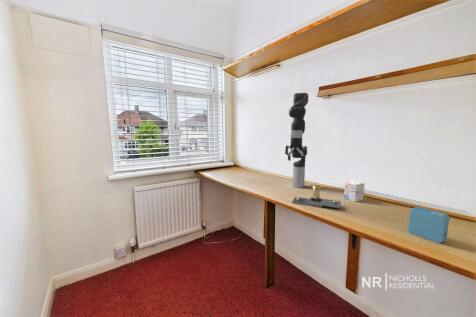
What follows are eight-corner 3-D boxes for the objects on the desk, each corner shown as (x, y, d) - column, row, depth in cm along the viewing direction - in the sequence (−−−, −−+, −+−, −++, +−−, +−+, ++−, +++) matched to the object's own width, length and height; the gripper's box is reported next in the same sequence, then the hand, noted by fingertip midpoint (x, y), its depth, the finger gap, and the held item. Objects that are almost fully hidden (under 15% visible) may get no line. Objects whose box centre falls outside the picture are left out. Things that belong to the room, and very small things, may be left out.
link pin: (312, 202, 135) (313, 184, 133) (320, 203, 132) (321, 185, 131) (310, 204, 130) (311, 186, 129) (319, 206, 128) (320, 187, 126)
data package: (446, 241, 87) (450, 214, 86) (442, 244, 85) (446, 217, 83) (411, 229, 98) (414, 205, 96) (407, 232, 96) (410, 207, 94)
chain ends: (292, 202, 134) (292, 196, 134) (295, 198, 142) (295, 193, 141) (340, 210, 121) (340, 203, 120) (340, 205, 128) (341, 199, 128)
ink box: (343, 198, 142) (344, 179, 141) (351, 196, 146) (353, 177, 144) (355, 202, 135) (356, 182, 133) (363, 200, 138) (365, 180, 136)
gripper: (308, 137, 137) (307, 161, 140) (287, 136, 144) (286, 159, 147) (306, 137, 131) (305, 162, 133) (284, 137, 138) (283, 161, 140)
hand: (295, 161), depth 140 cm, fingers open, 8 cm apart
